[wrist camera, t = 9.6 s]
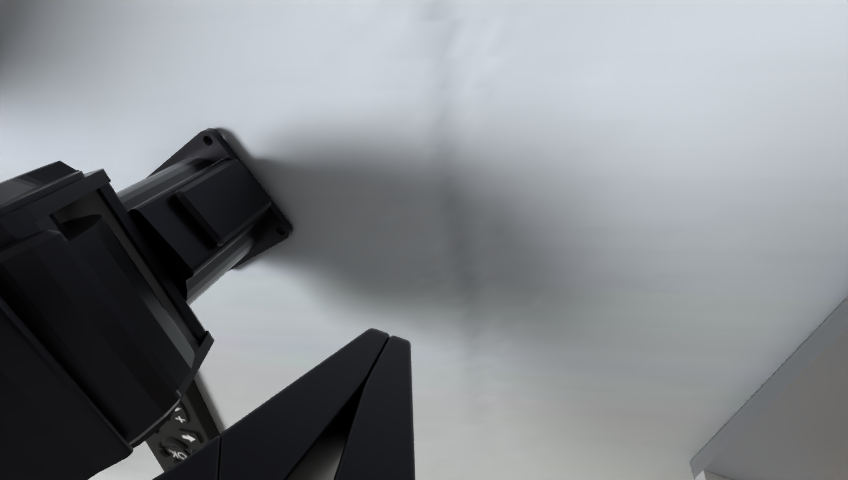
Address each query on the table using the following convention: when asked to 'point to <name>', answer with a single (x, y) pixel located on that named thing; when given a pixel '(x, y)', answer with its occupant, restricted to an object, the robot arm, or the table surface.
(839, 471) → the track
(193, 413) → the remote control
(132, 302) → the robot arm
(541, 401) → the table surface
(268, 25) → the table surface
